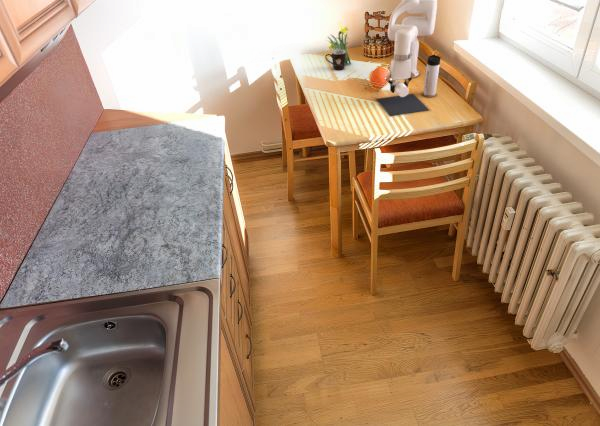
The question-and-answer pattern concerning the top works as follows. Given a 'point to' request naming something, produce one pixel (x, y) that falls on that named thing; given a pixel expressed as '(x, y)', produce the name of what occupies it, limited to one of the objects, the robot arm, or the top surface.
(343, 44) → the daffodil flowers
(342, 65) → the coffee mug
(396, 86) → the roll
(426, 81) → the travel mug
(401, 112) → the slate mat
